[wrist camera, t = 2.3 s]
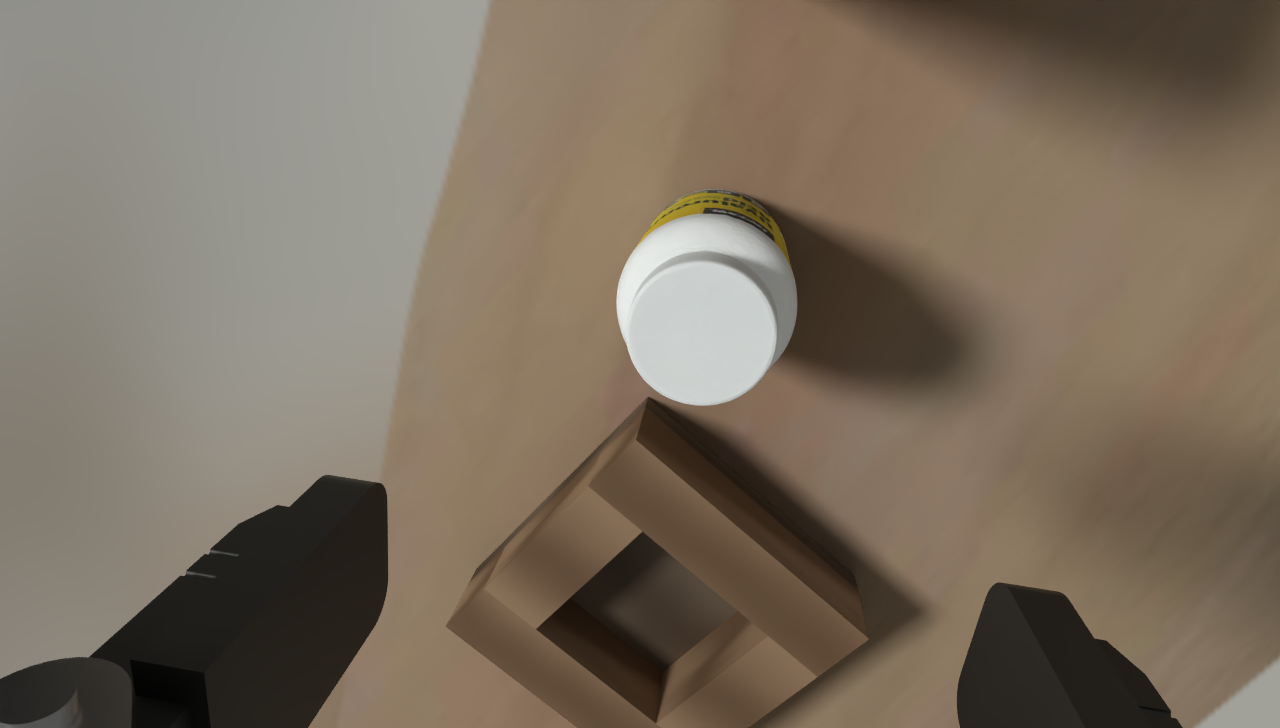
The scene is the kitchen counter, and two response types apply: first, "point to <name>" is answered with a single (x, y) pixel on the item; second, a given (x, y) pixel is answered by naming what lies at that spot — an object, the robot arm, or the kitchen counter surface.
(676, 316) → the supplement bottle
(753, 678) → the socket block
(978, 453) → the kitchen counter surface
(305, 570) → the robot arm
